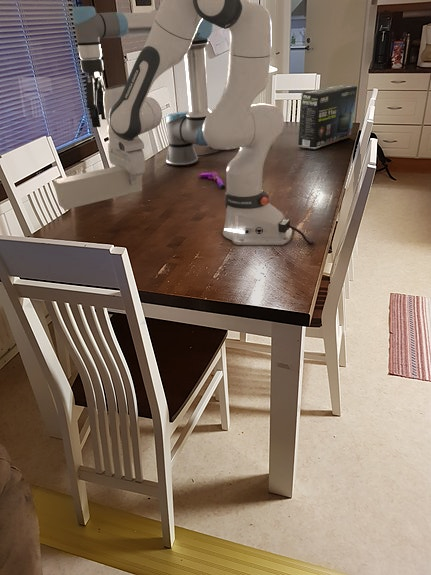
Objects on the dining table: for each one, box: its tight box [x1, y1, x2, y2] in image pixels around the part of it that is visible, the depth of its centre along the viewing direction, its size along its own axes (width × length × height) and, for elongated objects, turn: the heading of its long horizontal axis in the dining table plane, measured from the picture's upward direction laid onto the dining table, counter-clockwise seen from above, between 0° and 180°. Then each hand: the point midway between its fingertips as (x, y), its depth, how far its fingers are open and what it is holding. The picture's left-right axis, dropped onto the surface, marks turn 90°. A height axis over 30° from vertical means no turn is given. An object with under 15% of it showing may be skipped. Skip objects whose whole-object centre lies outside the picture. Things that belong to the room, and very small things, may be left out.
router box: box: [297, 84, 358, 151], centre depth 238 cm, size 36×11×27 cm, turn 134°
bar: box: [53, 165, 143, 211], centre depth 148 cm, size 27×5×8 cm, turn 125°
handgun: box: [199, 171, 226, 190], centre depth 194 cm, size 21×8×2 cm, turn 11°
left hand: (101, 123), depth 169 cm, fingers open, 13 cm apart
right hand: (128, 182), depth 153 cm, fingers closed on bar, 5 cm apart
